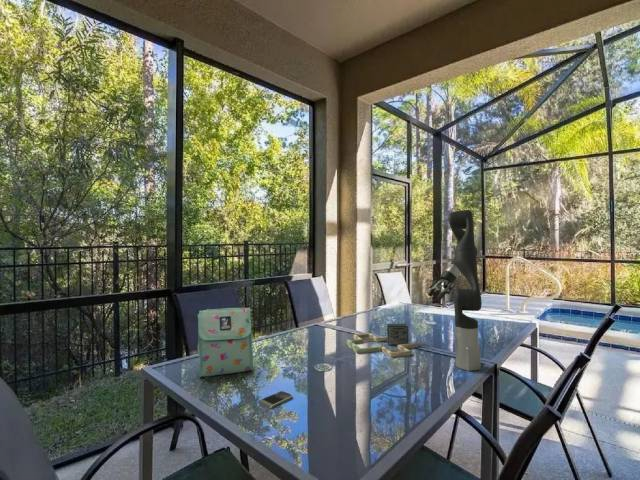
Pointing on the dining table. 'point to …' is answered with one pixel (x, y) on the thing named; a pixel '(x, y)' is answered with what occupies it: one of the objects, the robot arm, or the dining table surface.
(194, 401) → the dining table surface
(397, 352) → the trap course
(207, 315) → the lunch bag
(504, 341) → the dining table surface
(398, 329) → the small box
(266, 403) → the cell phone
